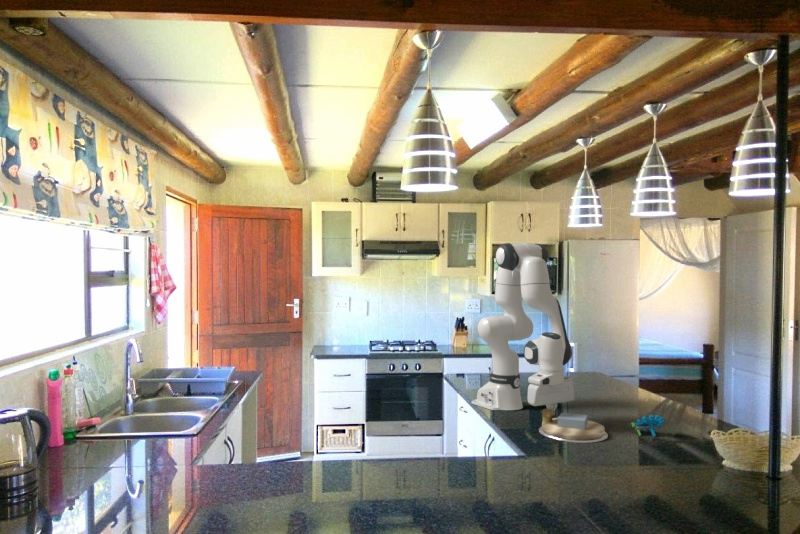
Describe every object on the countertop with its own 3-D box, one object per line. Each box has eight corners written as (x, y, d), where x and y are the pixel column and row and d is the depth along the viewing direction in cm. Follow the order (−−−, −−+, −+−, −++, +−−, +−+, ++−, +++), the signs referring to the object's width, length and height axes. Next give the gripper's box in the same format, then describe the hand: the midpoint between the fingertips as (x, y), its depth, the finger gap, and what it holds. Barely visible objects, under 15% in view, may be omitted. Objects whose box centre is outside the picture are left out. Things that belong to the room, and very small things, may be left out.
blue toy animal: (660, 426, 190) (665, 411, 183) (667, 441, 185) (672, 426, 178) (628, 429, 191) (632, 415, 184) (634, 445, 186) (638, 430, 180)
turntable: (612, 429, 189) (612, 412, 189) (593, 443, 172) (592, 425, 172) (555, 420, 201) (555, 404, 202) (532, 432, 185) (532, 415, 185)
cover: (557, 426, 185) (557, 418, 185) (561, 420, 193) (561, 412, 193) (584, 429, 181) (584, 420, 181) (587, 423, 189) (587, 415, 189)
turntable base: (525, 432, 188) (525, 430, 188) (561, 421, 203) (561, 420, 203) (585, 447, 170) (585, 445, 171) (620, 434, 186) (620, 432, 186)
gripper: (565, 373, 203) (565, 410, 202) (524, 378, 193) (524, 416, 192) (578, 376, 197) (578, 413, 197) (536, 381, 187) (537, 420, 187)
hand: (551, 415), depth 194 cm, fingers closed
